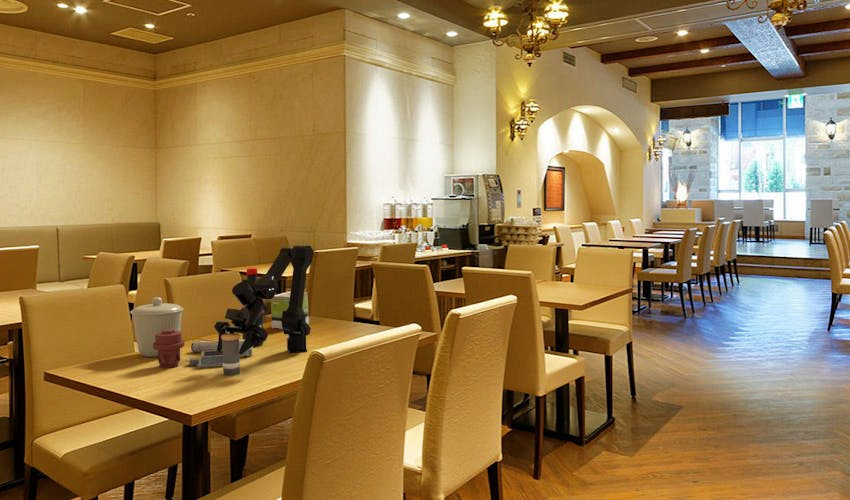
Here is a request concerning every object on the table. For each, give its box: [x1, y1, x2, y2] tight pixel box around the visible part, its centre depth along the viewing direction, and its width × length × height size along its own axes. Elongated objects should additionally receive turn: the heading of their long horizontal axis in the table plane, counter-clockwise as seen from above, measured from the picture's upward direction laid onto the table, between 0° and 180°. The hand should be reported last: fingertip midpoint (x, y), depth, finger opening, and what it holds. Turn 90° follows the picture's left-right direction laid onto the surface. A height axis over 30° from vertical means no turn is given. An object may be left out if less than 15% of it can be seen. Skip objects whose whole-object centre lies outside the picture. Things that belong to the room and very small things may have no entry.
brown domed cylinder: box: [221, 333, 241, 377], centre depth 215 cm, size 6×6×13 cm
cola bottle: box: [241, 267, 265, 347], centre depth 257 cm, size 8×8×30 cm
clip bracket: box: [188, 350, 223, 369], centre depth 229 cm, size 14×10×4 cm
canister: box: [130, 296, 184, 358], centre depth 243 cm, size 18×18×21 cm
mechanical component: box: [153, 329, 186, 369], centre depth 225 cm, size 12×10×10 cm
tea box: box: [270, 290, 310, 330], centre depth 295 cm, size 15×10×15 cm
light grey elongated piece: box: [190, 339, 254, 358], centre depth 243 cm, size 5×7×25 cm
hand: (228, 352), depth 214 cm, fingers open, 9 cm apart
